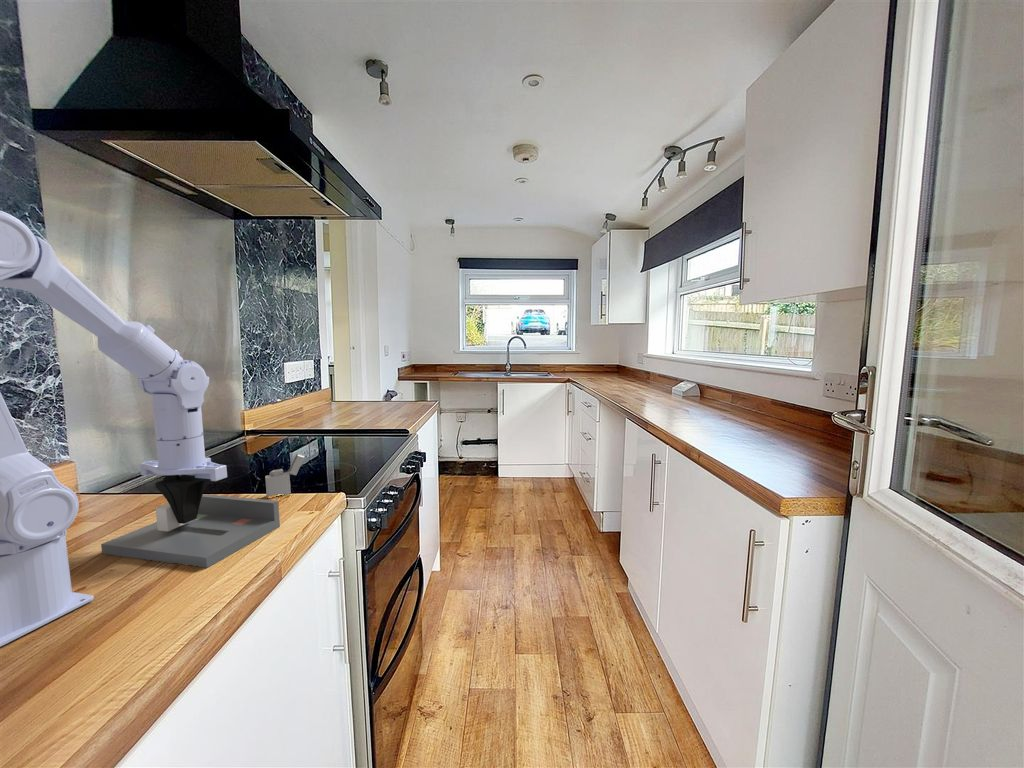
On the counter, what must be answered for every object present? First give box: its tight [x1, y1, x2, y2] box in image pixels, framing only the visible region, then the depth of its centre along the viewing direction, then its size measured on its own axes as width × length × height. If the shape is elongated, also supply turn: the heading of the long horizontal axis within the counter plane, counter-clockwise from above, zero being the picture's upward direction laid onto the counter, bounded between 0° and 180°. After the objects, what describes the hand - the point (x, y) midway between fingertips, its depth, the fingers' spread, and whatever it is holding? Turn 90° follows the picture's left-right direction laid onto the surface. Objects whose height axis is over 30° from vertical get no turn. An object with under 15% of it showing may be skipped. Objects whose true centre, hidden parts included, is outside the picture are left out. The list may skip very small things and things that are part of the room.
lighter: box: [264, 452, 305, 498], centre depth 83 cm, size 7×2×8 cm, turn 127°
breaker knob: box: [155, 503, 193, 531], centre depth 64 cm, size 4×2×4 cm, turn 168°
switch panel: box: [100, 493, 281, 569], centre depth 63 cm, size 13×19×4 cm
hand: (187, 520), depth 64 cm, fingers closed
